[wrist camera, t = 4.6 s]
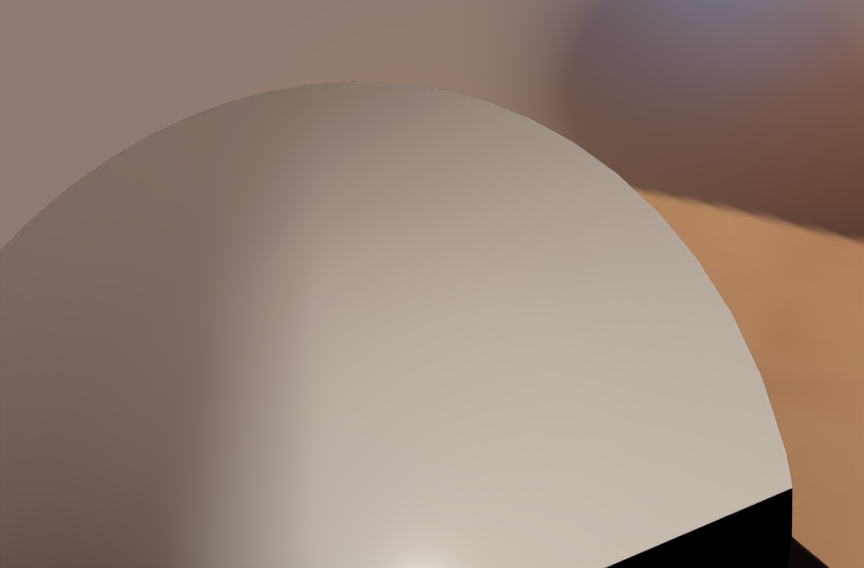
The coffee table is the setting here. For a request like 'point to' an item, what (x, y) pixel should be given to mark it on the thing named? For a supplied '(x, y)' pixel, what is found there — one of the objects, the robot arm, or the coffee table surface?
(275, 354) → the white plug
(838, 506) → the coffee table surface
